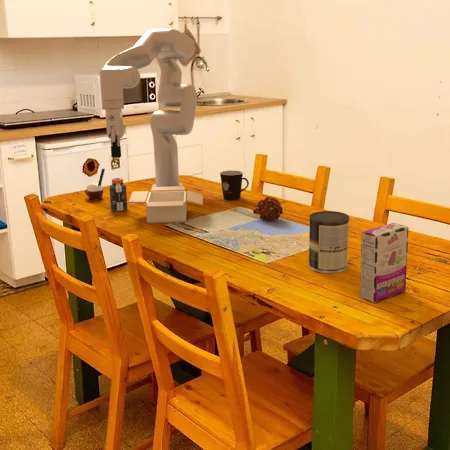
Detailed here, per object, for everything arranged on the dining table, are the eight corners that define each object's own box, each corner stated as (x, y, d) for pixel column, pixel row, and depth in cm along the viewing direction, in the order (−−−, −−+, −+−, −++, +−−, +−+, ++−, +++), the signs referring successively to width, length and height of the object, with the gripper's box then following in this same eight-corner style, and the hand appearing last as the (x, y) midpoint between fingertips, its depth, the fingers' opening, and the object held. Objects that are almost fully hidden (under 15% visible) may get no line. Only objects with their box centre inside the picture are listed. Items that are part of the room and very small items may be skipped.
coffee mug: (216, 197, 245) (216, 171, 242) (237, 194, 249) (236, 169, 246) (229, 204, 235) (229, 177, 232) (250, 201, 239) (250, 175, 236)
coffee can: (300, 268, 169) (301, 217, 165) (321, 257, 177) (322, 208, 173) (334, 276, 163) (336, 223, 159) (354, 265, 171) (356, 214, 167)
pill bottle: (126, 211, 228) (124, 180, 225) (109, 211, 228) (107, 180, 225) (128, 207, 234) (126, 176, 231) (112, 207, 234) (110, 177, 231)
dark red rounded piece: (277, 229, 209) (258, 225, 219) (293, 211, 211) (274, 208, 222) (262, 210, 206) (244, 208, 216) (279, 192, 208) (260, 190, 218)
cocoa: (83, 199, 248) (78, 169, 245) (97, 195, 252) (93, 166, 249) (96, 202, 241) (92, 171, 238) (110, 198, 245) (106, 168, 242)
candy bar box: (389, 286, 156) (393, 221, 151) (406, 292, 152) (410, 226, 148) (357, 297, 150) (360, 230, 145) (374, 304, 146) (377, 235, 141)
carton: (135, 207, 233) (134, 187, 231) (187, 205, 234) (186, 186, 232) (127, 229, 207) (126, 206, 205) (185, 227, 208) (184, 205, 205)
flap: (187, 190, 226) (202, 193, 226) (187, 191, 226) (202, 195, 227) (186, 200, 212) (202, 204, 212) (186, 201, 212) (202, 205, 212)
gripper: (121, 106, 213) (124, 161, 218) (125, 102, 228) (129, 153, 233) (98, 107, 213) (102, 161, 218) (104, 102, 227) (108, 153, 232)
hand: (116, 157), depth 225 cm, fingers closed
